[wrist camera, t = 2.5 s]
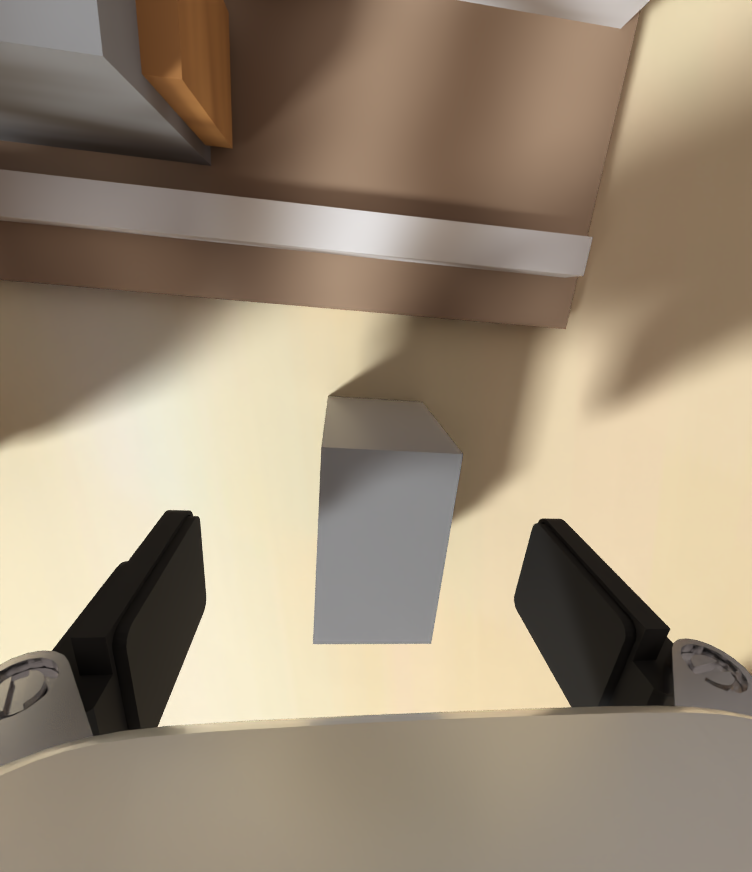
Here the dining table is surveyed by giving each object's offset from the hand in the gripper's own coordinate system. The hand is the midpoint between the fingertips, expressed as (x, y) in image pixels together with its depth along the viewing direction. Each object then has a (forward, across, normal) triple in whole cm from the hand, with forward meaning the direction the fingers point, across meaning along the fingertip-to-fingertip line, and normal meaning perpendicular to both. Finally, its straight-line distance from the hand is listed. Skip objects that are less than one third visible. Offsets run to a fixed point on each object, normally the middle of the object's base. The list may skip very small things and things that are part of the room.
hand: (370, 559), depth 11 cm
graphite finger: (+7, -1, +1) cm, 7 cm away
